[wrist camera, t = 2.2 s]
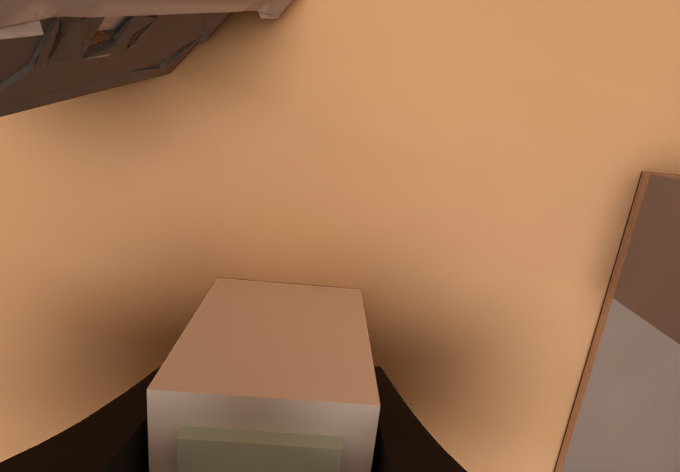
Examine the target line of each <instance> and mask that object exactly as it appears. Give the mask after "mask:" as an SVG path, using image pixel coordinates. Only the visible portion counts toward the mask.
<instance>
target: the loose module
mask: <svg viewBox="0 0 680 472" xmlns="http://www.w3.org/2000/svg"><path fill="white" fill-rule="evenodd" d="M379 412H380V400H379V394H378V388H377V382H376V376H375V370H374V364H373V358H372V352H371V346H370V340H369V335H368V329H367V323H366V317H365V311H364V305H363V299H362V293H361V289H349V288H337V287H325V286H313V285H301V284H288V283H276V282H264V281H252V280H240V279H227V278H217V279H216V281H215V282H214V284H213V285H212V287H211V289H210V290H209V292H208V293H207V295H206V296H205V298H204V300H203V301H202V303H201V304H200V306H199V308H198V309H197V311H196V312H195V314H194V315H193V317H192V319H191V320H190V322H189V323H188V325H187V326H186V328H185V330H184V331H183V333H182V334H181V336H180V338H179V339H178V341H177V342H176V344H175V345H174V347H173V349H172V350H171V352H170V353H169V355H168V356H167V358H166V360H165V361H164V363H163V364H162V366H161V368H160V369H159V371H158V372H157V374H156V375H155V377H154V379H153V380H152V382H151V383H150V385H149V386H148V388H147V419H148V453H149V472H371V466H372V460H373V453H374V446H375V439H376V432H377V426H378V419H379Z"/></svg>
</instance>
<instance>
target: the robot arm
mask: <svg viewBox="0 0 680 472" xmlns="http://www.w3.org/2000/svg"><path fill="white" fill-rule="evenodd" d="M160 368H161V366H160V367H159V368H158V369H156V370H155V371H154V372H152V373H151V374H150V375H148V376H147V377H146V378H144V379H143V380H141V381H140V382H139V383H137V384H136V385H135V386H133V387H132V388H131V389H129V390H128V391H126V392H125V393H124V394H122V395H121V396H119V397H118V398H116V399H114V400H113V401H111V402H110V403H108V404H107V405H105V406H104V407H102V408H101V409H99V410H98V411H96V412H95V413H93V414H92V415H90V416H89V417H87V418H85V419H84V420H82V421H80V422H79V423H77V424H75V425H74V426H72V427H70V428H68V429H67V430H65V431H63V432H61V433H59V434H57V435H56V436H54V437H52V438H50V439H48V440H46V441H44V442H42V443H41V444H39V445H37V446H34V447H32V448H30V449H28V450H26V451H24V452H22V453H20V454H18V455H15V456H13V457H11V458H9V459H7V460H5V461H3V462H1V463H0V472H149V453H148V419H147V388H148V386H149V385H150V383H151V382H152V380H153V379H154V377H155V375H156V374H157V372H158V371H159V369H160ZM374 370H375V376H376V382H377V388H378V394H379V400H380V412H379V419H378V426H377V432H376V439H375V446H374V453H373V460H372V466H371V472H467V471H466V470H465V469H464V468H463V467H462V466H461V465H459V464H458V463H457V462H456V461H455V460H454V459H453V458H452V457H451V456H450V455H449V454H448V453H447V452H446V451H445V450H444V449H443V448H442V447H441V446H440V445H439V444H438V443H437V442H436V440H435V439H434V438H433V437H432V436H431V435H430V433H429V432H428V431H427V430H426V429H425V428H424V426H423V425H422V424H421V423H420V421H419V420H418V419H417V418H416V416H415V415H414V414H413V412H412V411H411V410H410V408H409V407H408V406H407V405H406V403H405V402H404V400H403V399H402V398H401V396H400V395H399V393H398V392H397V390H396V389H395V387H394V386H393V385H392V383H391V382H390V380H389V378H388V377H387V375H386V374H385V372H384V371H383V370H382V368H381V367H376V366H374Z"/></svg>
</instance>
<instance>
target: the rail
mask: <svg viewBox="0 0 680 472" xmlns="http://www.w3.org/2000/svg"><path fill="white" fill-rule="evenodd" d="M650 174H661V173H650V172H642V175H641V179H640V182H639V186H638V189H637V192H636V196H635V199H634V203H633V206H632V209H631V213H630V216H629V220H628V223H627V226H626V230H625V233H624V237H623V240H622V243H621V247H620V250H619V254H618V257H617V261H616V264H615V267H614V271H613V274H612V278H611V281H610V284H609V288H608V291H607V295H606V298H605V301H604V305H603V308H602V312H601V315H600V318H599V322H598V325H597V329H596V332H595V335H594V339H593V342H592V346H591V349H590V352H589V356H588V359H587V363H586V366H585V370H584V373H583V376H582V380H581V383H580V387H579V390H578V393H577V397H576V400H575V404H574V407H573V410H572V414H571V417H570V421H569V424H568V427H567V431H566V434H565V438H564V441H563V444H562V448H561V451H560V455H559V458H558V461H557V465H556V468H555V472H680V344H678V343H677V342H675V341H674V340H672V339H671V338H670V337H668V336H667V335H665V334H664V333H662V332H661V331H660V330H658V329H657V328H655V327H654V326H652V325H651V324H649V323H648V322H647V321H645V320H644V319H642V318H641V317H639V316H638V315H636V314H635V313H634V312H632V311H631V310H629V309H628V308H626V307H625V306H624V305H622V304H621V303H619V302H618V301H616V300H615V299H613V297H614V294H615V290H616V287H617V284H618V280H619V277H620V274H621V270H622V267H623V264H624V260H625V257H626V254H627V250H628V247H629V244H630V240H631V237H632V233H633V230H634V227H635V223H636V220H637V217H638V213H639V210H640V207H641V203H642V200H643V197H644V193H645V190H646V187H647V183H648V180H649V177H650ZM661 175H671V174H661ZM671 176H680V175H671Z"/></svg>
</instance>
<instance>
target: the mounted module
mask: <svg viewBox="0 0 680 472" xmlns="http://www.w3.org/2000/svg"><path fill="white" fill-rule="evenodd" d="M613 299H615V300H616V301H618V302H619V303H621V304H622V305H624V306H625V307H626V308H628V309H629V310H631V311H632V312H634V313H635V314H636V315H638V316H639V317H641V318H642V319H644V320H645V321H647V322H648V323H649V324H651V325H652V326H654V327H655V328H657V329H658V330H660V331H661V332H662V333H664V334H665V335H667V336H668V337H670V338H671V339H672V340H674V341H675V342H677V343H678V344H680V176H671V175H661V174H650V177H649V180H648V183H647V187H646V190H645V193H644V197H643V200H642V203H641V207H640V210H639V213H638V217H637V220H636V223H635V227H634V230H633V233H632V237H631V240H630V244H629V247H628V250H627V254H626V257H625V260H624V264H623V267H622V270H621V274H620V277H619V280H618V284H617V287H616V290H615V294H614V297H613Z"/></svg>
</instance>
